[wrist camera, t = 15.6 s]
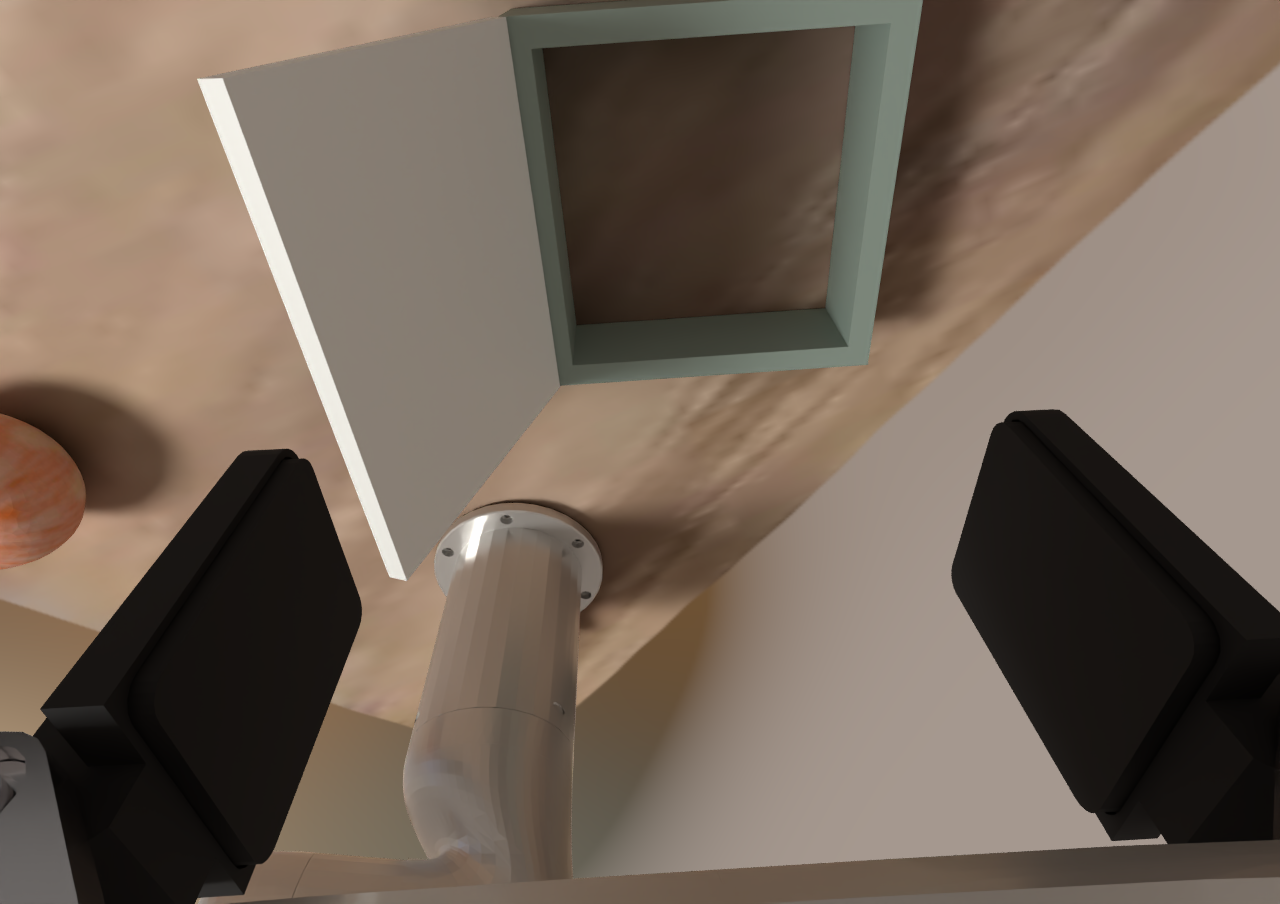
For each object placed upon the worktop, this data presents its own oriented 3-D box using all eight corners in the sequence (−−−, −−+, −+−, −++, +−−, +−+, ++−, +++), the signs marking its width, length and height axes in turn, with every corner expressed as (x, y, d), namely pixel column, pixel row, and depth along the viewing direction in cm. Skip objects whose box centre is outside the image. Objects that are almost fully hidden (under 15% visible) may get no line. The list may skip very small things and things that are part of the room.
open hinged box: (843, 325, 42) (977, 543, 27) (469, 350, 43) (387, 582, 27) (885, -19, 32) (1143, 12, 17) (393, 17, 32) (191, 80, 17)
